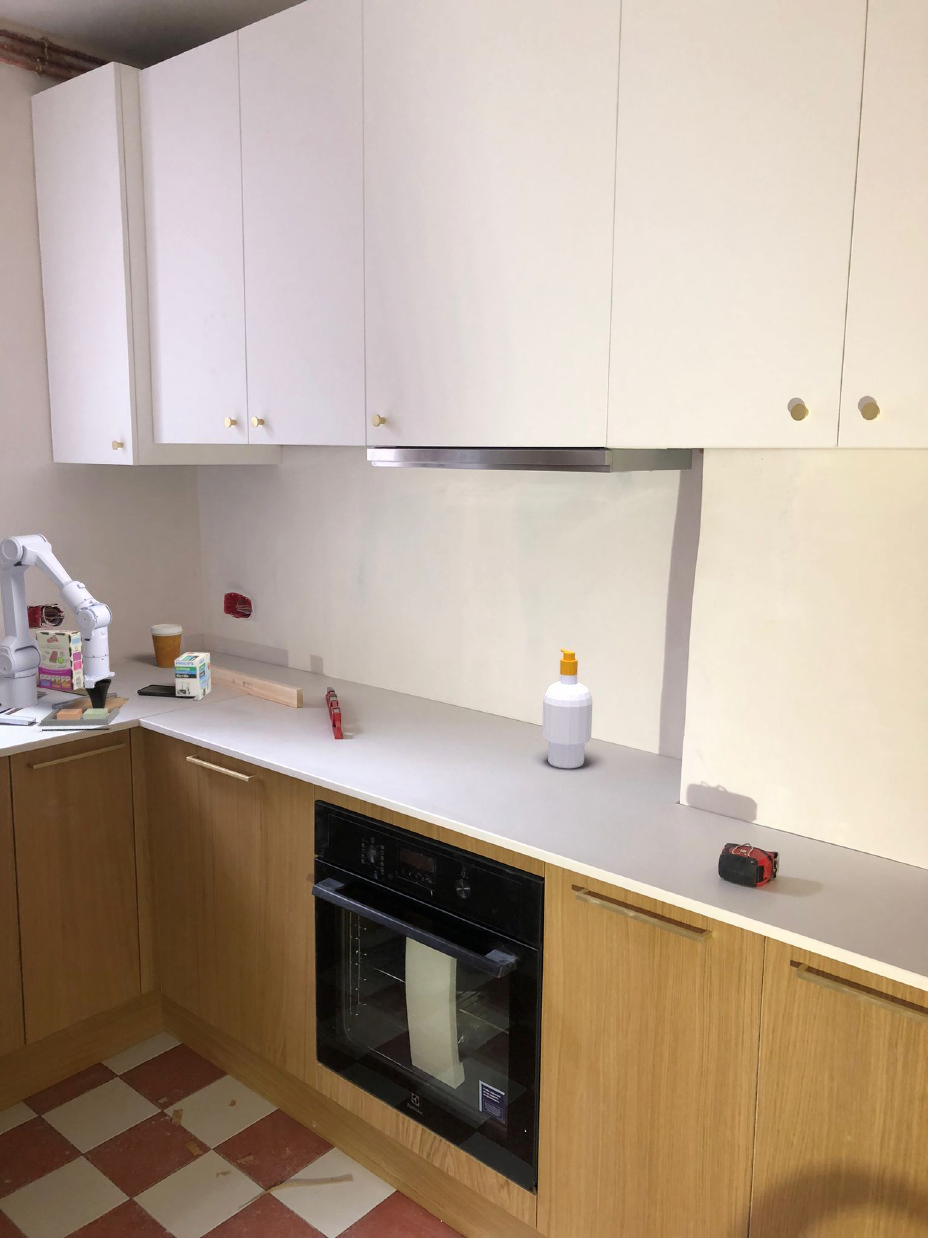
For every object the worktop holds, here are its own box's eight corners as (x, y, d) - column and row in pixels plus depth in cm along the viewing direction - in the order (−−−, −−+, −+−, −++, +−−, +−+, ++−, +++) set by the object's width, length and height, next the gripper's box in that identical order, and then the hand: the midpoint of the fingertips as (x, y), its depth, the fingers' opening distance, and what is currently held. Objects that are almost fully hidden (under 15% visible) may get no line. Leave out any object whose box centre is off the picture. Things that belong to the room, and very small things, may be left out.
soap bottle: (576, 754, 214) (579, 646, 210) (599, 768, 205) (603, 655, 201) (533, 759, 211) (536, 649, 206) (554, 773, 201) (558, 658, 197)
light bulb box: (200, 700, 256) (199, 660, 254) (175, 700, 256) (173, 660, 254) (211, 690, 266) (210, 651, 264) (187, 690, 266) (185, 651, 264)
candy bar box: (85, 690, 265) (82, 630, 262) (73, 694, 260) (69, 633, 258) (51, 686, 268) (47, 628, 266) (38, 691, 264) (34, 631, 261)
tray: (41, 731, 227) (41, 720, 226) (56, 718, 237) (55, 708, 237) (108, 730, 228) (107, 719, 228) (119, 717, 239) (119, 707, 238)
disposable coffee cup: (149, 663, 298) (148, 624, 296) (182, 661, 302) (180, 622, 300) (153, 669, 290) (151, 630, 288) (186, 667, 294) (185, 628, 291)
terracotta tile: (57, 724, 231) (56, 714, 231) (63, 719, 235) (62, 709, 235) (77, 724, 231) (76, 713, 231) (82, 718, 236) (81, 708, 235)
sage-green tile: (83, 724, 232) (83, 713, 231) (89, 718, 236) (88, 708, 236) (103, 723, 232) (102, 713, 232) (108, 718, 236) (107, 708, 236)
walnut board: (60, 718, 237) (59, 713, 237) (77, 703, 251) (77, 698, 251) (115, 718, 238) (115, 713, 238) (129, 702, 253) (129, 698, 252)
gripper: (105, 661, 228) (108, 718, 230) (120, 648, 242) (123, 702, 244) (73, 661, 227) (77, 718, 229) (91, 649, 241) (94, 702, 244)
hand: (99, 710), depth 237 cm, fingers closed
